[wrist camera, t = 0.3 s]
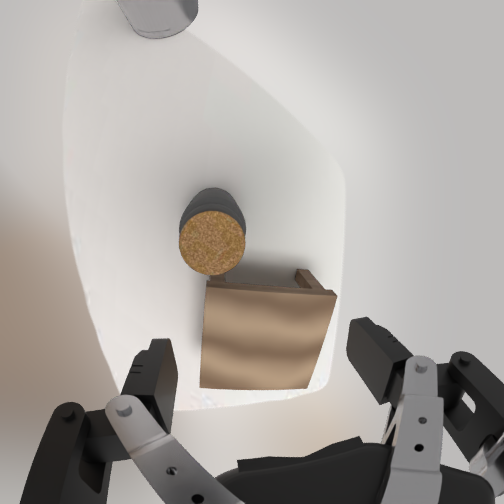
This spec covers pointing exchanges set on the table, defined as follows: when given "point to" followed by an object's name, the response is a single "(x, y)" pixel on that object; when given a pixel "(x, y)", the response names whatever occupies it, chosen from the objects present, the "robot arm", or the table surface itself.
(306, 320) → the wooden bench
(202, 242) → the bottle
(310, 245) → the table surface
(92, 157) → the table surface
